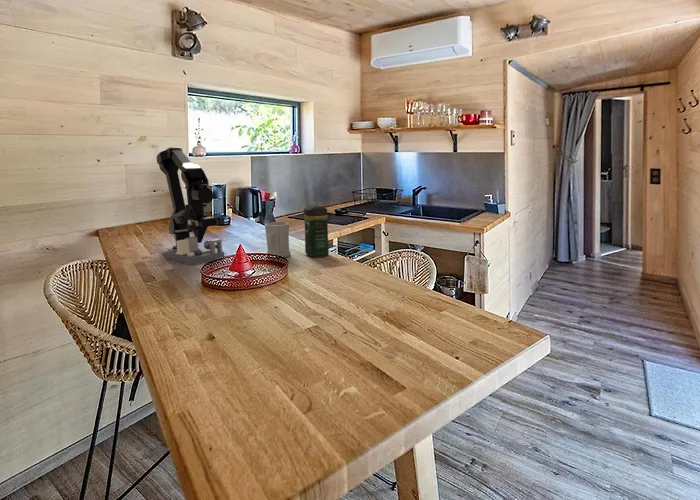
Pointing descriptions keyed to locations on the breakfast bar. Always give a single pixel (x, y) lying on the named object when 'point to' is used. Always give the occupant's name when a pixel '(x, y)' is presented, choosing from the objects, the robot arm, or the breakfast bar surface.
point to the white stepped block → (193, 244)
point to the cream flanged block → (182, 247)
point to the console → (198, 254)
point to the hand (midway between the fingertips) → (199, 242)
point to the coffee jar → (316, 231)
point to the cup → (278, 238)
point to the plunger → (208, 245)
